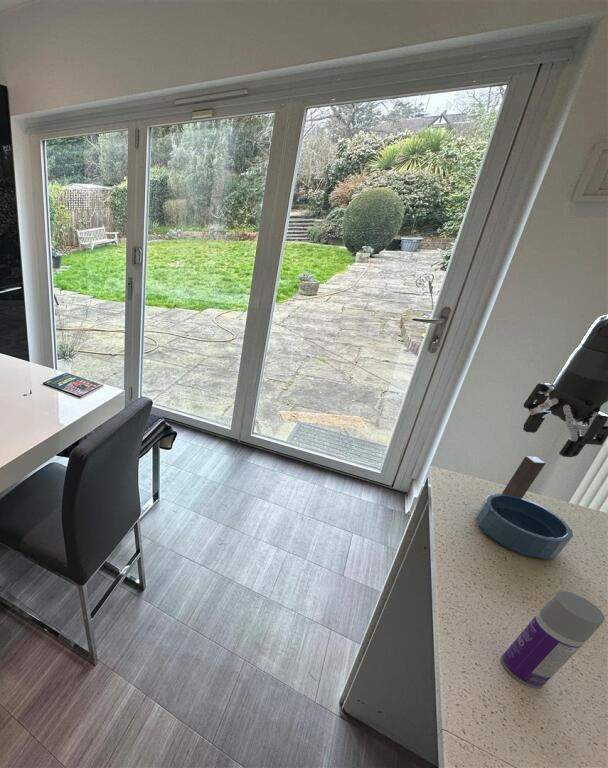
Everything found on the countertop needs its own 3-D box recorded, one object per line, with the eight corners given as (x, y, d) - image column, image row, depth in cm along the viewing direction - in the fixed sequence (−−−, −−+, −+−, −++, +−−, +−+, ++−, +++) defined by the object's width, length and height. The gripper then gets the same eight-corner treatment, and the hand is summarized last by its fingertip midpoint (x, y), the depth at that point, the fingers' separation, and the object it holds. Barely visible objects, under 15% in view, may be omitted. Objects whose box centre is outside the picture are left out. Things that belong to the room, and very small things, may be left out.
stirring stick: (506, 502, 92) (536, 456, 86) (514, 510, 90) (545, 463, 84) (496, 502, 92) (525, 455, 86) (503, 509, 90) (534, 462, 84)
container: (492, 651, 63) (544, 587, 56) (526, 656, 62) (583, 592, 55) (516, 685, 58) (575, 621, 51) (552, 691, 58) (617, 626, 51)
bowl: (521, 515, 88) (534, 496, 86) (575, 564, 77) (592, 544, 75) (459, 510, 89) (471, 490, 87) (505, 557, 78) (519, 537, 76)
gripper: (658, 391, 69) (600, 467, 76) (579, 357, 82) (536, 425, 89) (610, 388, 70) (557, 463, 77) (538, 355, 82) (499, 422, 90)
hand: (546, 443), depth 83 cm, fingers open, 8 cm apart
